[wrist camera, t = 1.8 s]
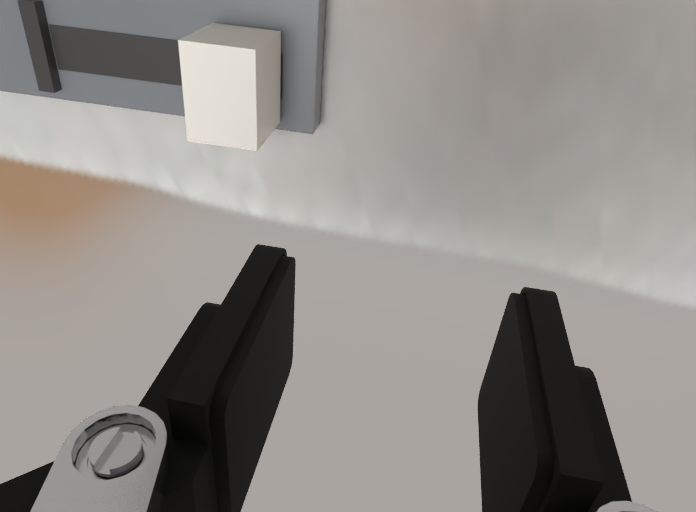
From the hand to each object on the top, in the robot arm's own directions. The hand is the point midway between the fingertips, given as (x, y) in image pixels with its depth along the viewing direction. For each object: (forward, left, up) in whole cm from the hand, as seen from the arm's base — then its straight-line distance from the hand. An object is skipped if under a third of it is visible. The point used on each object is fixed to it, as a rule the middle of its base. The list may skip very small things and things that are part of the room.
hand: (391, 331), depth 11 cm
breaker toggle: (+8, 0, -15) cm, 17 cm away
